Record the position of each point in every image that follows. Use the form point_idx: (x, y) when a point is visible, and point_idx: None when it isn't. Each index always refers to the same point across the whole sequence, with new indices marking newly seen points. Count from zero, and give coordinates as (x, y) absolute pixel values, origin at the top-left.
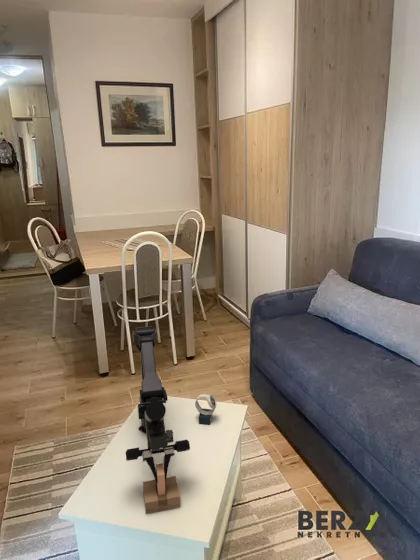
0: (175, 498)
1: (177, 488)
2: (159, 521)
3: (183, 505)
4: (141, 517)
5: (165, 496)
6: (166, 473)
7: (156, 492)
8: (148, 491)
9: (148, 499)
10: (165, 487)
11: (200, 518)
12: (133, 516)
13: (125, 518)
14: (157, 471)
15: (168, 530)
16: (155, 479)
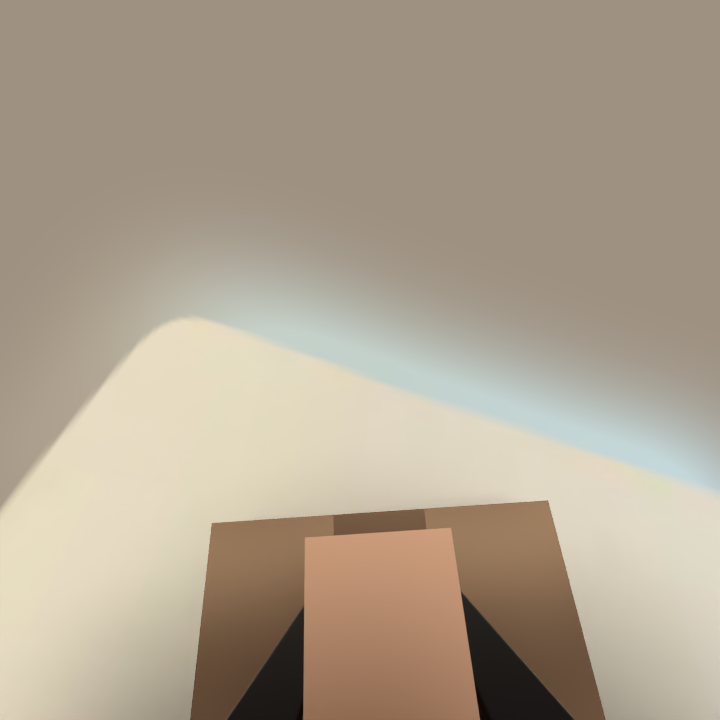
0: (259, 522)
1: (207, 641)
2: (410, 447)
3: None
4: None
5: None
6: (269, 672)
7: None
8: (536, 663)
9: (521, 540)
10: None
11: (145, 426)
12: (609, 522)
13: (669, 514)
14: (458, 661)
15: (356, 378)
16: (478, 614)
